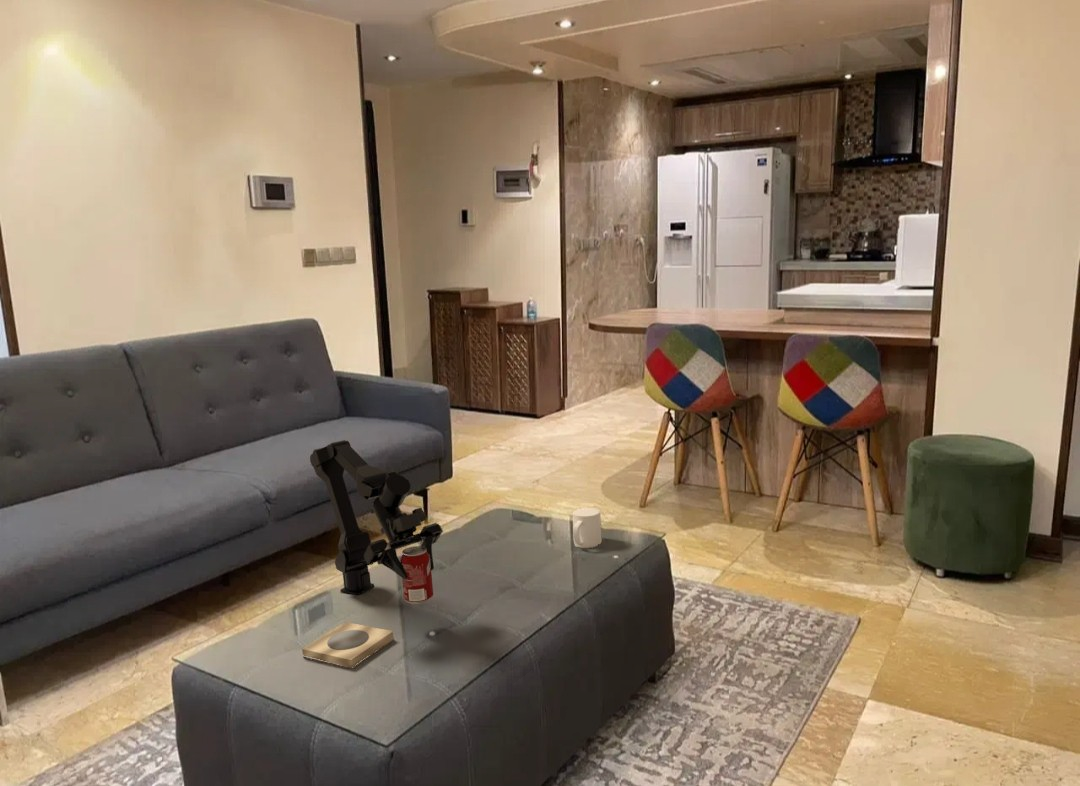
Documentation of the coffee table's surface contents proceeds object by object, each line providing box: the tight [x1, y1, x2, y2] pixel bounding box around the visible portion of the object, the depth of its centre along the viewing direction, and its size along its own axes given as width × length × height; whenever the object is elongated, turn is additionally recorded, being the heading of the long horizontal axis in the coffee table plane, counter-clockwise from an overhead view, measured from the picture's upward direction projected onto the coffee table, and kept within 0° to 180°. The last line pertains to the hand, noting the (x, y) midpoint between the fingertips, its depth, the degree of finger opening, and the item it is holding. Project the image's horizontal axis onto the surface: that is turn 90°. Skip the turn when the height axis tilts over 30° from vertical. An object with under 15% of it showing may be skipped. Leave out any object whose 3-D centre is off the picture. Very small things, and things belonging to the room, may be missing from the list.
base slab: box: [301, 621, 395, 669], centre depth 179 cm, size 14×14×2 cm
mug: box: [572, 507, 603, 549], centre depth 233 cm, size 12×9×8 cm
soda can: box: [399, 545, 434, 605], centre depth 186 cm, size 7×7×12 cm
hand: (419, 573), depth 185 cm, fingers closed on soda can, 7 cm apart
